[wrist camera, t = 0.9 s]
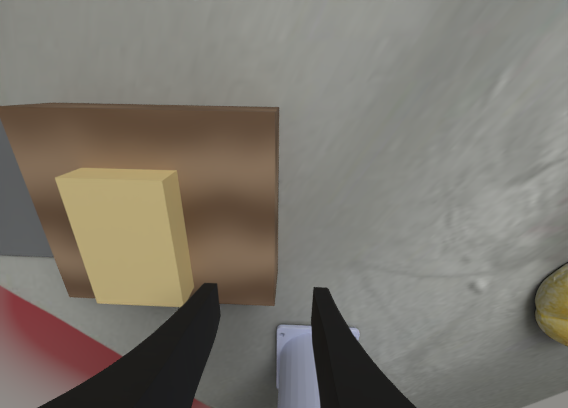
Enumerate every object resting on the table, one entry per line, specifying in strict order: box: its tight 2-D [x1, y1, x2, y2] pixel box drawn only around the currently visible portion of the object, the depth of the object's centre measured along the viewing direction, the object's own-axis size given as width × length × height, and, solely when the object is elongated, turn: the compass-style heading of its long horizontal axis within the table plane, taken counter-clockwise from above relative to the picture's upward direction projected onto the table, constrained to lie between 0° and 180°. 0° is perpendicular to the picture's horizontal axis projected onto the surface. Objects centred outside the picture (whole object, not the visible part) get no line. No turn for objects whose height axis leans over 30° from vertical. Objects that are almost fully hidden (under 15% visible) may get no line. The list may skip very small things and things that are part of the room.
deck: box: [0, 103, 279, 306], centre depth 20 cm, size 14×16×4 cm
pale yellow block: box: [55, 168, 194, 307], centre depth 17 cm, size 9×6×2 cm, turn 179°
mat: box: [0, 119, 54, 257], centre depth 22 cm, size 12×9×1 cm
